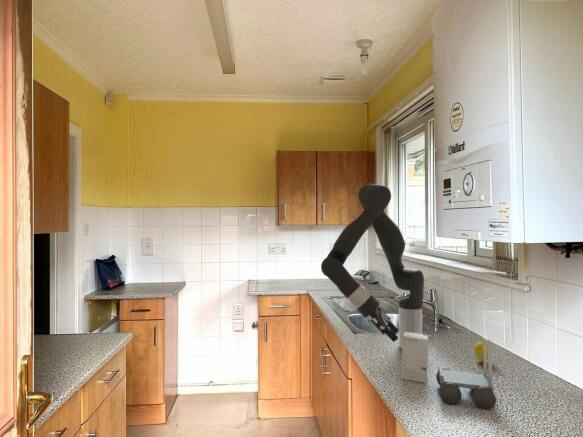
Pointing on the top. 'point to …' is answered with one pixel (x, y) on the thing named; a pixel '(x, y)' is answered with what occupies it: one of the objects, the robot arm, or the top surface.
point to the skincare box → (414, 357)
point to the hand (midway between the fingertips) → (396, 336)
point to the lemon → (480, 350)
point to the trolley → (469, 382)
